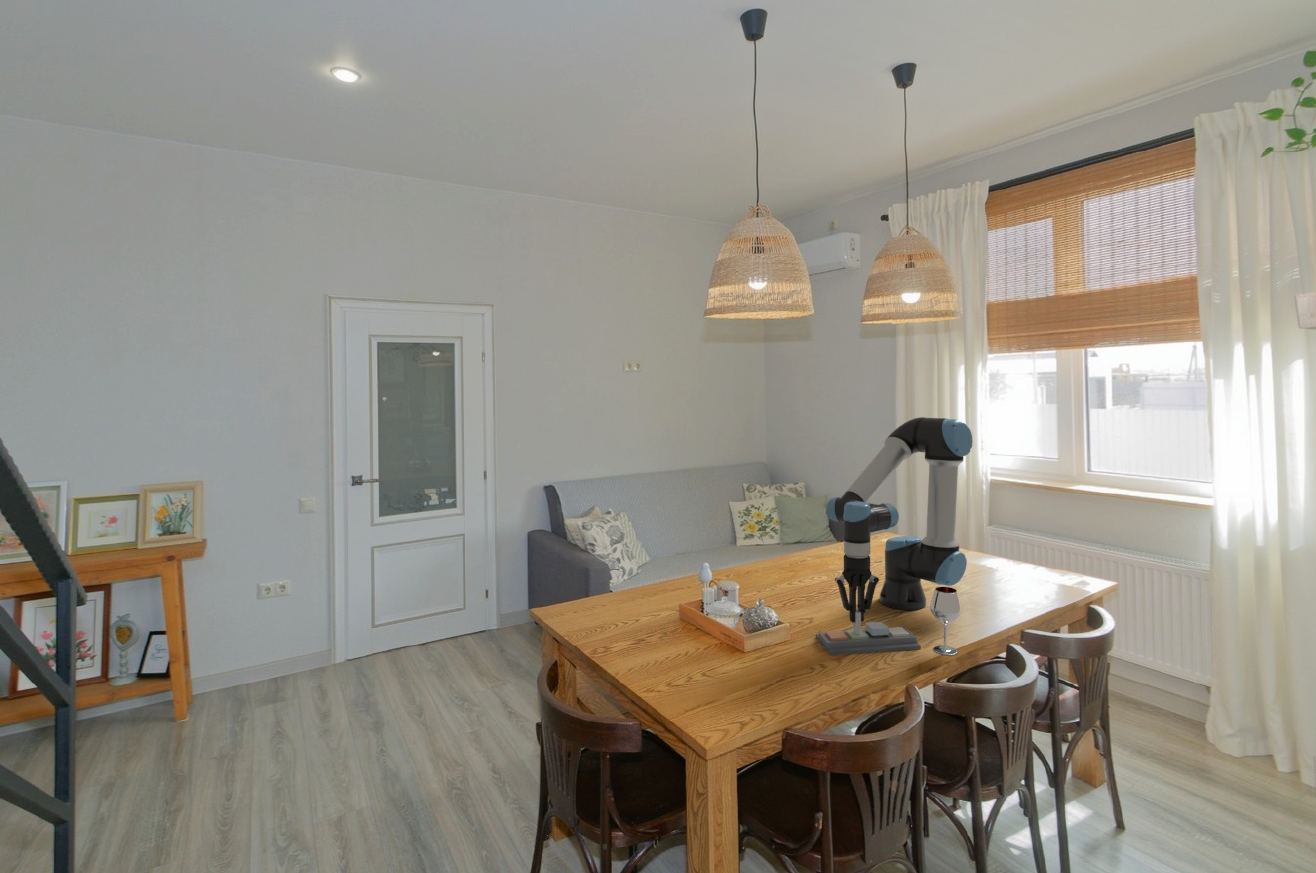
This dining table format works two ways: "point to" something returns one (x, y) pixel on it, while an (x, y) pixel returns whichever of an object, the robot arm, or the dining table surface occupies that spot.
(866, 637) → the key sage
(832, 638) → the key terracotta
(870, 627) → the key bluegrey
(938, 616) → the wineglass
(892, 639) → the keypad
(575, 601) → the dining table surface
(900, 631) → the key ivory
